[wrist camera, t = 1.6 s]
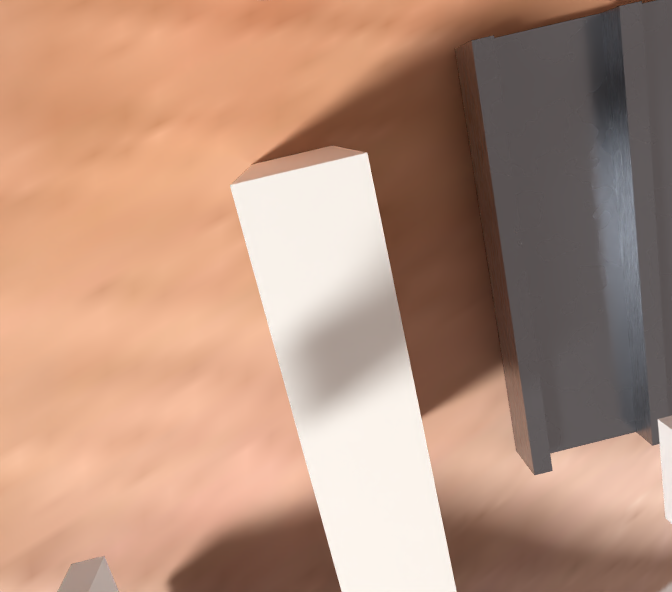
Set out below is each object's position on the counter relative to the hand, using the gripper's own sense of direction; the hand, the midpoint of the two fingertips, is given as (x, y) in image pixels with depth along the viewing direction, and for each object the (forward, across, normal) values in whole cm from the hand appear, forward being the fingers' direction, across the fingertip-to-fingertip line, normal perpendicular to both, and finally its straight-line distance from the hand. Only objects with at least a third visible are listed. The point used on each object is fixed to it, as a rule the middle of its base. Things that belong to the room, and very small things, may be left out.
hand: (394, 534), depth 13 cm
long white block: (+18, 0, 0) cm, 18 cm away
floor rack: (+18, +19, 0) cm, 26 cm away
